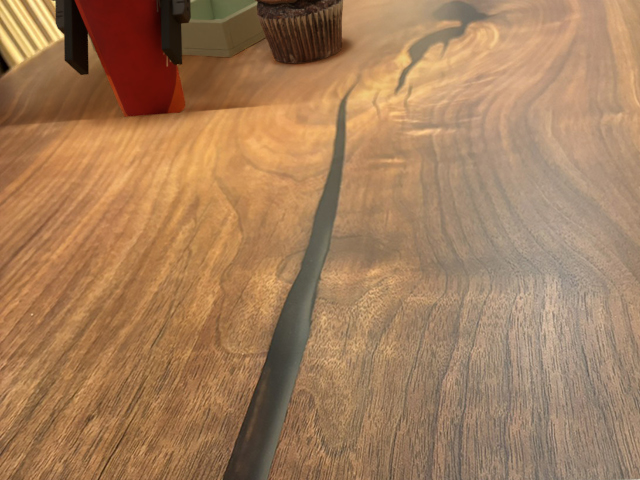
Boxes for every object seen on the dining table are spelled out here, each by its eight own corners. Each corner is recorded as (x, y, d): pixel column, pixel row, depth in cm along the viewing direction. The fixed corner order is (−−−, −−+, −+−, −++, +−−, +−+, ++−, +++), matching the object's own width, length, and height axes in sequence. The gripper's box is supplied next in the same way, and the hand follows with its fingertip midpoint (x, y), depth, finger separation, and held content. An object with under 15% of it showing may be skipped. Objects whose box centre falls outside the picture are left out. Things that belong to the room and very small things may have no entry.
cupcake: (252, 67, 80) (229, -34, 74) (286, 38, 87) (267, -56, 80) (332, 65, 77) (315, -40, 71) (360, 35, 84) (347, -63, 77)
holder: (230, 57, 84) (221, 22, 81) (93, 50, 94) (82, 19, 92) (288, 24, 91) (281, -9, 89) (155, 21, 101) (146, -9, 99)
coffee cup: (214, 102, 70) (165, -77, 60) (143, 135, 66) (78, -52, 56) (165, 89, 75) (113, -79, 65) (96, 118, 70) (29, -56, 61)
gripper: (243, -164, 68) (251, 70, 66) (35, -133, 70) (38, 93, 69) (216, -236, 60) (224, 26, 59) (-16, -198, 63) (-14, 53, 61)
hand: (124, 62), depth 64 cm, fingers closed on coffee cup, 8 cm apart
